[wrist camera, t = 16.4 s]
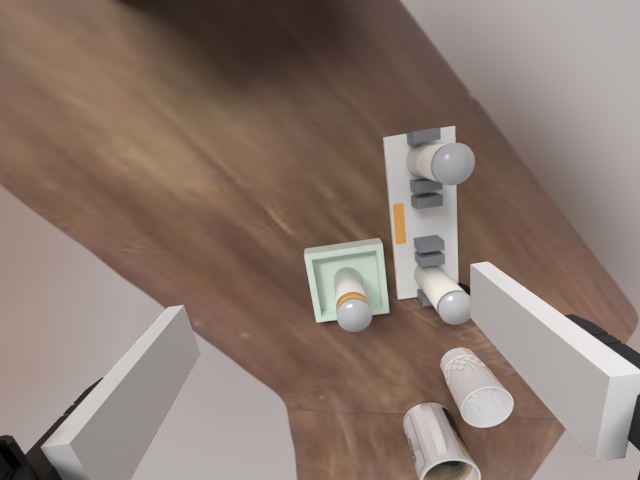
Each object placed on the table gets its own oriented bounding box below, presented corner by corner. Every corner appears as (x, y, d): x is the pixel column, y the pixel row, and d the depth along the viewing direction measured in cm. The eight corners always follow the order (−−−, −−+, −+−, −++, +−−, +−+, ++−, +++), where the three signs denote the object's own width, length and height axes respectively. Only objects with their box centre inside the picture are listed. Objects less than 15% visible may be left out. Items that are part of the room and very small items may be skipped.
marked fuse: (331, 268, 48) (334, 303, 37) (359, 264, 48) (370, 298, 37) (335, 293, 49) (339, 333, 39) (362, 290, 49) (373, 329, 38)
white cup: (484, 371, 55) (518, 418, 45) (443, 385, 56) (468, 434, 46) (473, 338, 53) (507, 380, 43) (431, 352, 54) (454, 396, 44)
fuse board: (382, 136, 43) (388, 135, 39) (452, 125, 42) (465, 123, 39) (397, 297, 50) (403, 309, 47) (456, 289, 50) (467, 300, 46)
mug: (391, 431, 59) (406, 492, 49) (417, 385, 56) (439, 441, 45) (438, 445, 60) (463, 508, 50) (466, 401, 57) (500, 458, 46)
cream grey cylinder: (404, 146, 42) (432, 146, 32) (435, 141, 42) (474, 139, 32) (406, 178, 44) (434, 188, 33) (437, 173, 44) (475, 181, 33)
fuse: (412, 262, 48) (438, 295, 37) (440, 258, 48) (475, 290, 37) (414, 287, 49) (440, 326, 38) (441, 284, 49) (475, 322, 38)
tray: (304, 248, 48) (303, 254, 45) (379, 237, 47) (382, 243, 45) (316, 313, 51) (316, 322, 49) (385, 304, 51) (389, 312, 48)
